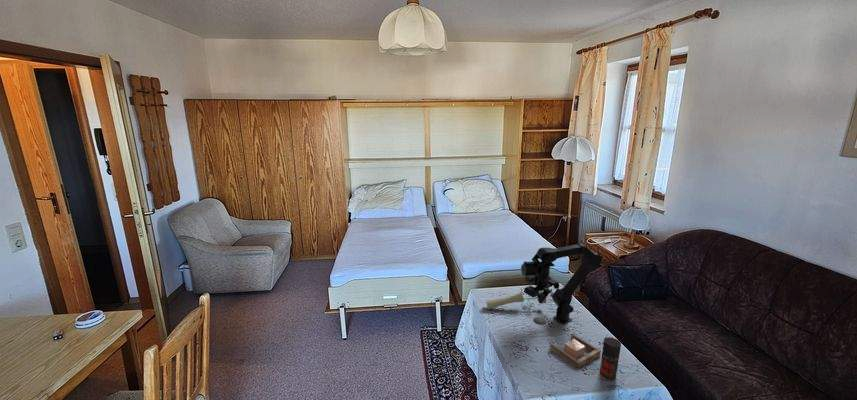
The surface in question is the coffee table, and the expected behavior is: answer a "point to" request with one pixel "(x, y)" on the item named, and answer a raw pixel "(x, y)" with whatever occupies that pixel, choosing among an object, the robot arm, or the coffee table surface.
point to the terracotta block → (574, 348)
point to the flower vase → (511, 300)
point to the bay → (582, 361)
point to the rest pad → (539, 320)
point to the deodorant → (610, 358)
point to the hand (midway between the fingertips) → (540, 303)
